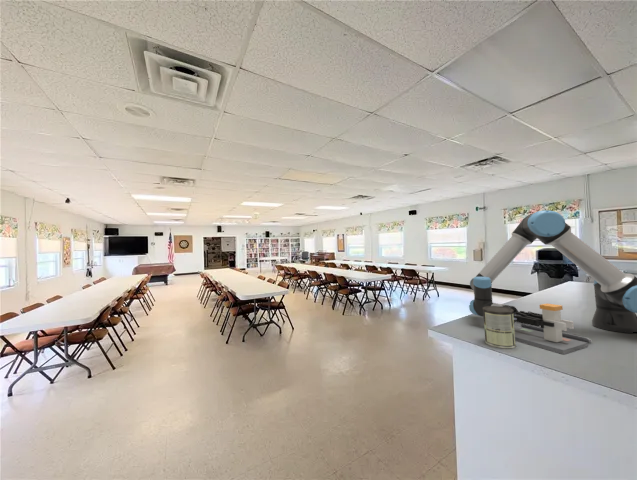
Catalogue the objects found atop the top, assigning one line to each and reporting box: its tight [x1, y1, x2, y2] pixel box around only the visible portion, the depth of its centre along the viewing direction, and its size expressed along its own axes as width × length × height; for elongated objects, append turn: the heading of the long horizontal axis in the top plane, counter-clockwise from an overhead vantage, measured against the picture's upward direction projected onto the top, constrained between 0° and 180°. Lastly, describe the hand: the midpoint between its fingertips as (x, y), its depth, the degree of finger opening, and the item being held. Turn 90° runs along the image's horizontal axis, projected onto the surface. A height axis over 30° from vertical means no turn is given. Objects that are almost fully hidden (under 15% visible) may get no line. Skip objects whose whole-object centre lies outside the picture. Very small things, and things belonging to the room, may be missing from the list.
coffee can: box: [483, 306, 517, 349], centre depth 104 cm, size 10×10×14 cm
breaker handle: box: [539, 303, 563, 342], centre depth 101 cm, size 5×5×14 cm
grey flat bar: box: [520, 323, 592, 344], centre depth 110 cm, size 23×4×2 cm, turn 22°
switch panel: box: [514, 324, 589, 355], centre depth 106 cm, size 26×16×2 cm, turn 22°
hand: (569, 326), depth 96 cm, fingers closed on breaker handle, 4 cm apart
